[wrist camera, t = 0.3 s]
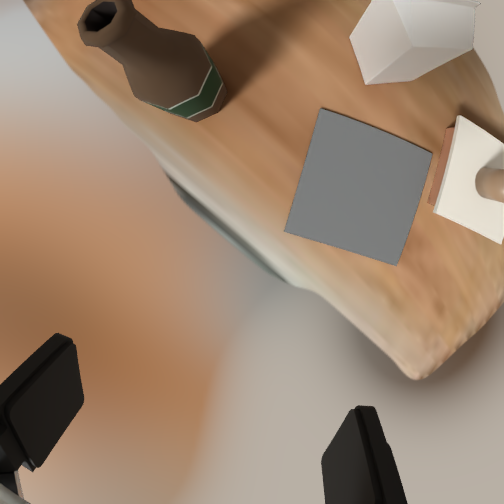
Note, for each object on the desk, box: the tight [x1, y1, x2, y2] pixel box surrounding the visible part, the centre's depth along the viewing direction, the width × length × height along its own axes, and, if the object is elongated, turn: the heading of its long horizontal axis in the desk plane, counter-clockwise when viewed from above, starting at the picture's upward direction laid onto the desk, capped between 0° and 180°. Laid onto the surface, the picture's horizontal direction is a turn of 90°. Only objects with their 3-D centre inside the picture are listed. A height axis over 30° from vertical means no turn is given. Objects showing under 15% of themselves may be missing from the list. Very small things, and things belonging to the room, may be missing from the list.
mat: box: [284, 108, 432, 266], centre depth 36 cm, size 16×16×1 cm
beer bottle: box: [77, 0, 227, 122], centre depth 23 cm, size 8×8×24 cm
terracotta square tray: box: [427, 127, 455, 206], centre depth 32 cm, size 11×11×4 cm
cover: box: [433, 115, 504, 244], centre depth 27 cm, size 13×13×7 cm
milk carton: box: [349, 0, 481, 85], centre depth 22 cm, size 7×7×19 cm
